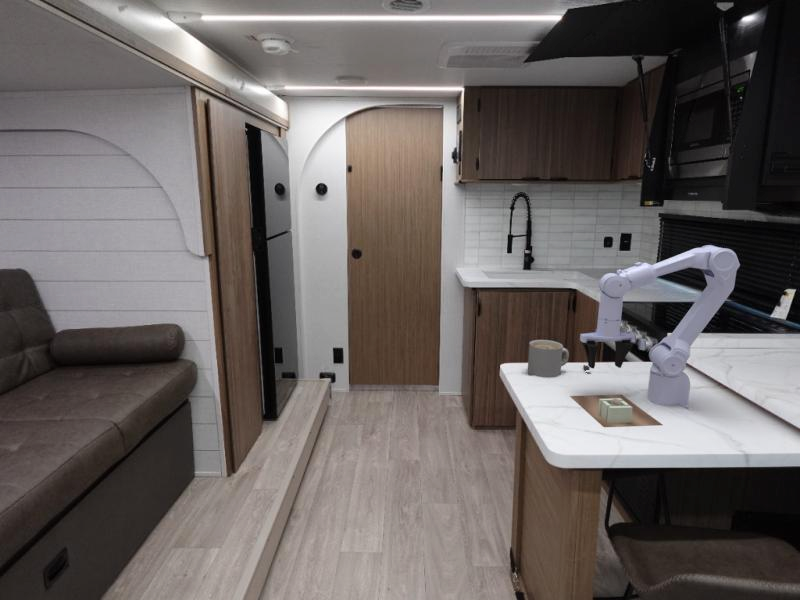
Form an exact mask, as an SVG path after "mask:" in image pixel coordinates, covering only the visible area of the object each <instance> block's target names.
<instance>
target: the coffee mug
mask: <svg viewBox="0 0 800 600" xmlns="http://www.w3.org/2000/svg"><path fill="white" fill-rule="evenodd" d="M569 355H570V354H569V350H568V348H565V347H564V346H563V344H562V343H560V342H558V341H554V340H549V339H536V340H535V339H534V340H531V341H529V344H528V358H527V359H528V361H527V372H526V373H527V375H528V376H530V377H531V376H533V377H535V376H536V377H540V378H548V379H549V378H557V377H559V376H561V373H562V372H561V371H562V367H563V366H565V365H566V364H567V363H568V361H569V358H570V357H569Z"/></svg>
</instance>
